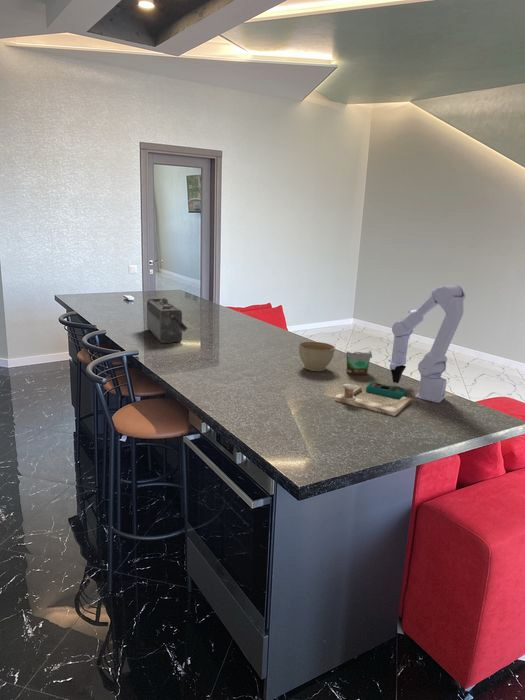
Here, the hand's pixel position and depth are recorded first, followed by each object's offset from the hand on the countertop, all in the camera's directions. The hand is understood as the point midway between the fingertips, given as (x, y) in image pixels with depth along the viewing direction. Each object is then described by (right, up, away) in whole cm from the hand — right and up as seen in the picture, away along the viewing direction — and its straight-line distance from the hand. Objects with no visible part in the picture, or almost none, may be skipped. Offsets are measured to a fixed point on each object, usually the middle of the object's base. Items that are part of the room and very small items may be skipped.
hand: (395, 382), depth 200 cm
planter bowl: (-32, +5, +19) cm, 37 cm away
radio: (-109, +21, +68) cm, 130 cm away
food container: (-13, +2, +14) cm, 19 cm away
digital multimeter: (-7, -4, -9) cm, 12 cm away
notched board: (-14, -6, -20) cm, 25 cm away
